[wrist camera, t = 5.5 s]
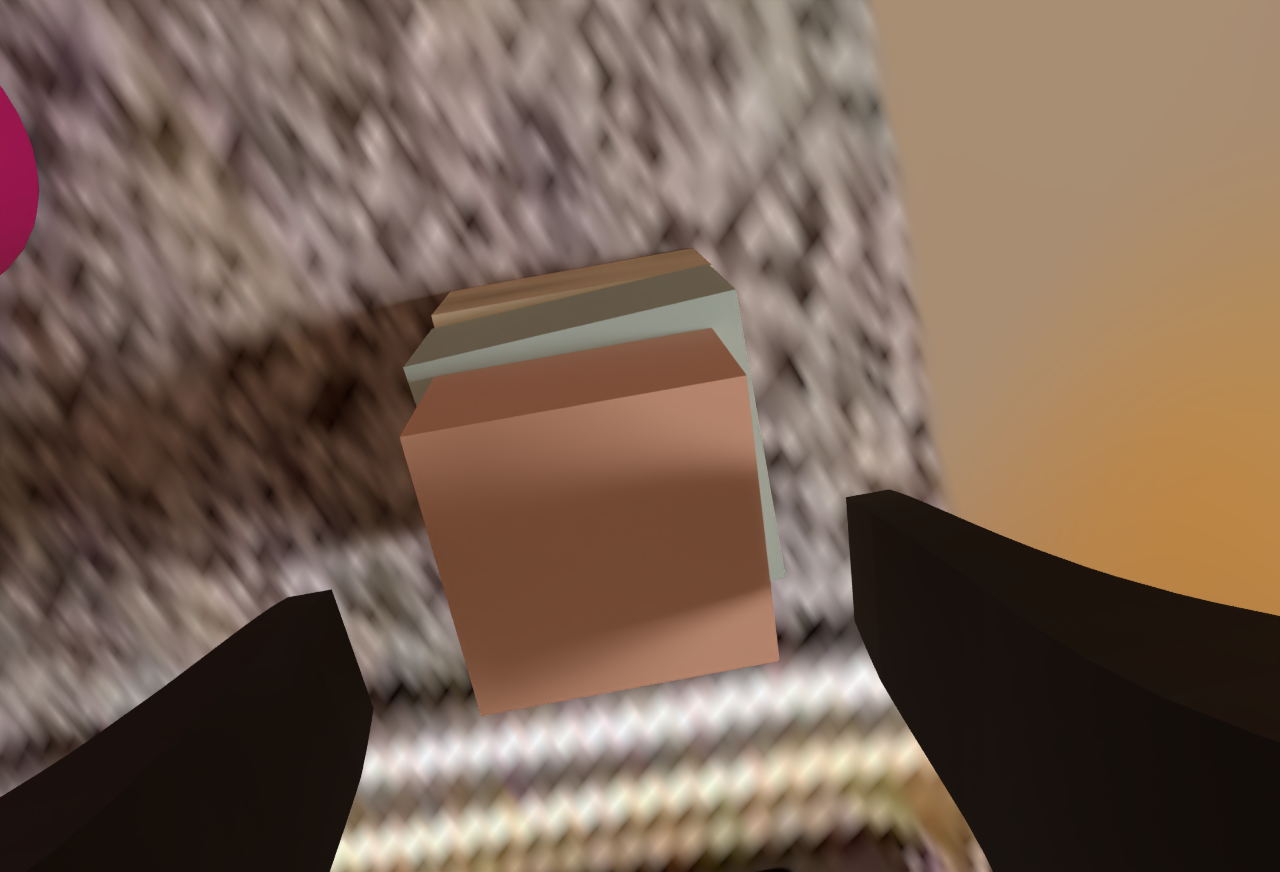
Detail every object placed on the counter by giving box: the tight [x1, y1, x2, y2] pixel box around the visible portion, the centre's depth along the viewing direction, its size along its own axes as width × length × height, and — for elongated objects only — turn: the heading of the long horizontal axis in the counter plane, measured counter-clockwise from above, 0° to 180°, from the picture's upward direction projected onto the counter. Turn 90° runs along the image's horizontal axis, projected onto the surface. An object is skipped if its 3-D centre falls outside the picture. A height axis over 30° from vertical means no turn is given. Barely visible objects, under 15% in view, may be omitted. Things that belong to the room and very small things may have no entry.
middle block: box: [403, 264, 786, 581], centre depth 16 cm, size 6×6×3 cm
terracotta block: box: [400, 328, 779, 716], centre depth 13 cm, size 5×5×3 cm
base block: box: [431, 248, 712, 328], centre depth 19 cm, size 6×6×3 cm
